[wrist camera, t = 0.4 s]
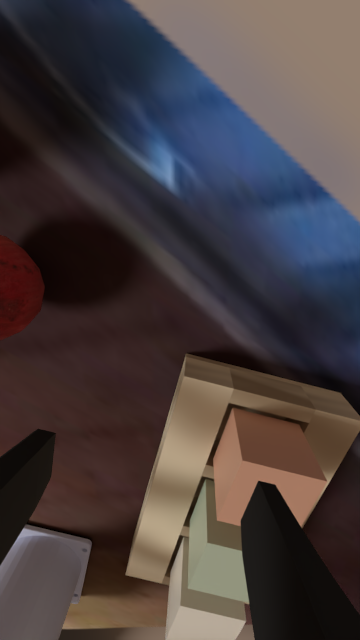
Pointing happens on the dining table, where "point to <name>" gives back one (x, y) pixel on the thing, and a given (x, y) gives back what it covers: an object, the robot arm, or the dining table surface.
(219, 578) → the sage key
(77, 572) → the robot arm
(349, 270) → the dining table surface
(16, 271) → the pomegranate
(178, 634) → the cream key
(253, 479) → the salmon pink cube
